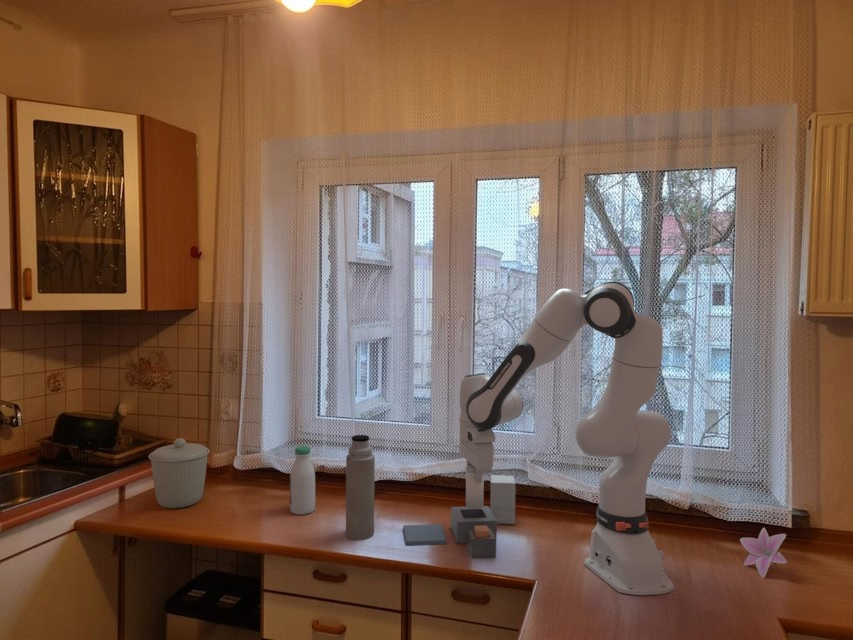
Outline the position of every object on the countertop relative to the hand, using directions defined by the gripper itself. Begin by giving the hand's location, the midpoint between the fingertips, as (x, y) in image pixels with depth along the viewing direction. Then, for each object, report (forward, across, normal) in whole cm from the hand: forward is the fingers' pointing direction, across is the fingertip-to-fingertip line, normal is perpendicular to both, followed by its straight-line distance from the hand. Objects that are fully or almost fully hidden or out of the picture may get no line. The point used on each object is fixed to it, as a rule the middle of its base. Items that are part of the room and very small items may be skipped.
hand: (474, 478), depth 160 cm
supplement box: (+16, -9, +12) cm, 22 cm away
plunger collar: (+16, +11, -2) cm, 20 cm away
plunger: (+16, +11, -2) cm, 19 cm away
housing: (+16, 0, 0) cm, 16 cm away
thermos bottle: (+16, -7, -32) cm, 36 cm away
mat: (+16, -2, -14) cm, 21 cm away
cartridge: (+8, 0, 0) cm, 8 cm away
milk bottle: (+15, -28, -48) cm, 57 cm away
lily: (+18, +33, +66) cm, 76 cm away
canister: (+15, -42, -86) cm, 97 cm away
